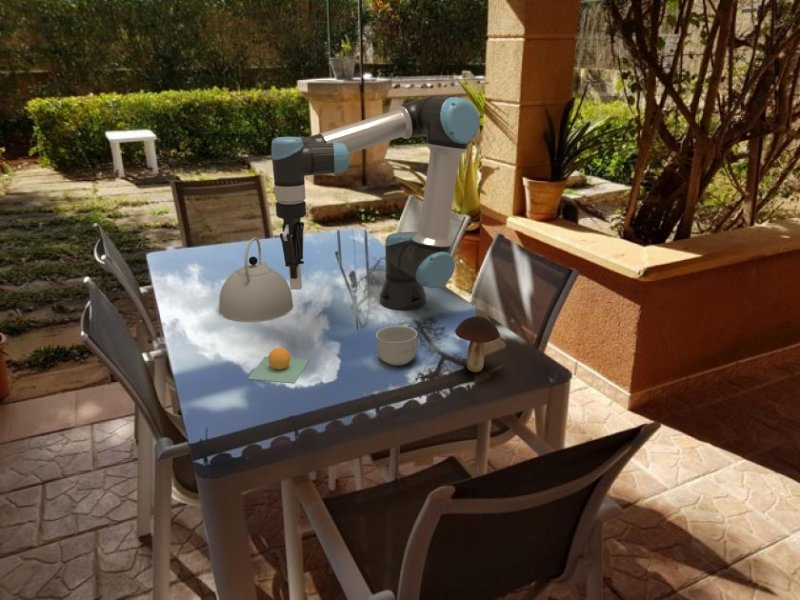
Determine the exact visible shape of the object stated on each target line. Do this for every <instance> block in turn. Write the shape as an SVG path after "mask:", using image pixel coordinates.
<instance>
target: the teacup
mask: <svg viewBox="0 0 800 600" xmlns="http://www.w3.org/2000/svg"><path fill="white" fill-rule="evenodd" d="M375 338H376V349H377V354H378V357H379V359H380V360H381V361H383V362H384V363H386V364H388V365H390V366H395V367H396V366H397V367H398V366H404V365H406V364H409V363H410V362H411V361H413V359H415V357H416V356H417V352H418V331H417V330H416V329H415V328H413V327H411V325H410V323H403V325H389V326H386V327H383V328H381V329H379V330H378V331H377V332H376V333H375Z"/></svg>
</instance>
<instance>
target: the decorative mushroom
mask: <svg viewBox="0 0 800 600" xmlns="http://www.w3.org/2000/svg"><path fill="white" fill-rule="evenodd" d="M454 333H455V334H456V336H457V337H458V338H460V339H462V340H465V341H468V342H469V345H468V348H467V357H466V367H467V369H468V370H469V372H472V373H479V372H482V369H483V368H484V364H485V363H484V362H485V349H484V343H490V342H492V341H495V340H497V339H499V338H500V336H501V333H500V331H499V330H498V328H497V327H496V325H495V324H494V323H493V322H491V321H490V320H489V319H488V318H486V317H485V316H484V317H483V316H479V315H478V316H477V315H475V316H470V317H468V318H465V319H464V320H462V321H461V322H460V323H459V324H458V325H457V327H456V329H455V330H454Z"/></svg>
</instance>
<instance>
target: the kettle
mask: <svg viewBox="0 0 800 600" xmlns="http://www.w3.org/2000/svg"><path fill="white" fill-rule="evenodd" d="M254 241H255V242H256V244H257V250H258V258H257V257H256V256H251V257H249V251H250V247H251V245H252V243H253V242H254ZM248 263H249V264H248ZM267 265H268V263H267V262H264V261H262V248H261V243H260V240H259V238H258V237H252V238H251V239H250V240H249V242H248V243H247V245H246V248H245V254H244V265H243V266H241V267H239V268H238V269H236V270H235V271H234V272H232V273H231V274H230V275H229V276H228V277H227V279H225V281H224V283H223V284H222V286H221V289H220V293H219V299H218V301H219V303H218V305H219V314H220V313H221V314H222V315H223V316H224V317H223V316H222V315H221V314H220V315H221V316H222V317H223V318H224V319H227V320H230V321H232V322H239V323H240V322H241V323H260V322H267V321H272V320H276V319H279V318H281V317H284V316H286V315H288V314H290V312H291V311H292V310H293V308H294V304H293V303H294V302H293V294H292V289H290V284H289V283H288V282H287V280H286V279H285V277H283V275H282V274H281V273H279V272H278V271H276V270H275V269H273V268H272V267H270V266H267Z"/></svg>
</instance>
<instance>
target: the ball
mask: <svg viewBox="0 0 800 600" xmlns="http://www.w3.org/2000/svg"><path fill="white" fill-rule="evenodd" d="M267 357H268V361H269V364H270V365H271V366H272V367H273V368H275V369H284V368H286V367H287V366H288V365H289V363H290V359H291V354H290V352H289V351H288V349H285V348H283V347H276V348H273V349H272V350H271V351H270V352H269V354H268V356H267Z"/></svg>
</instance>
